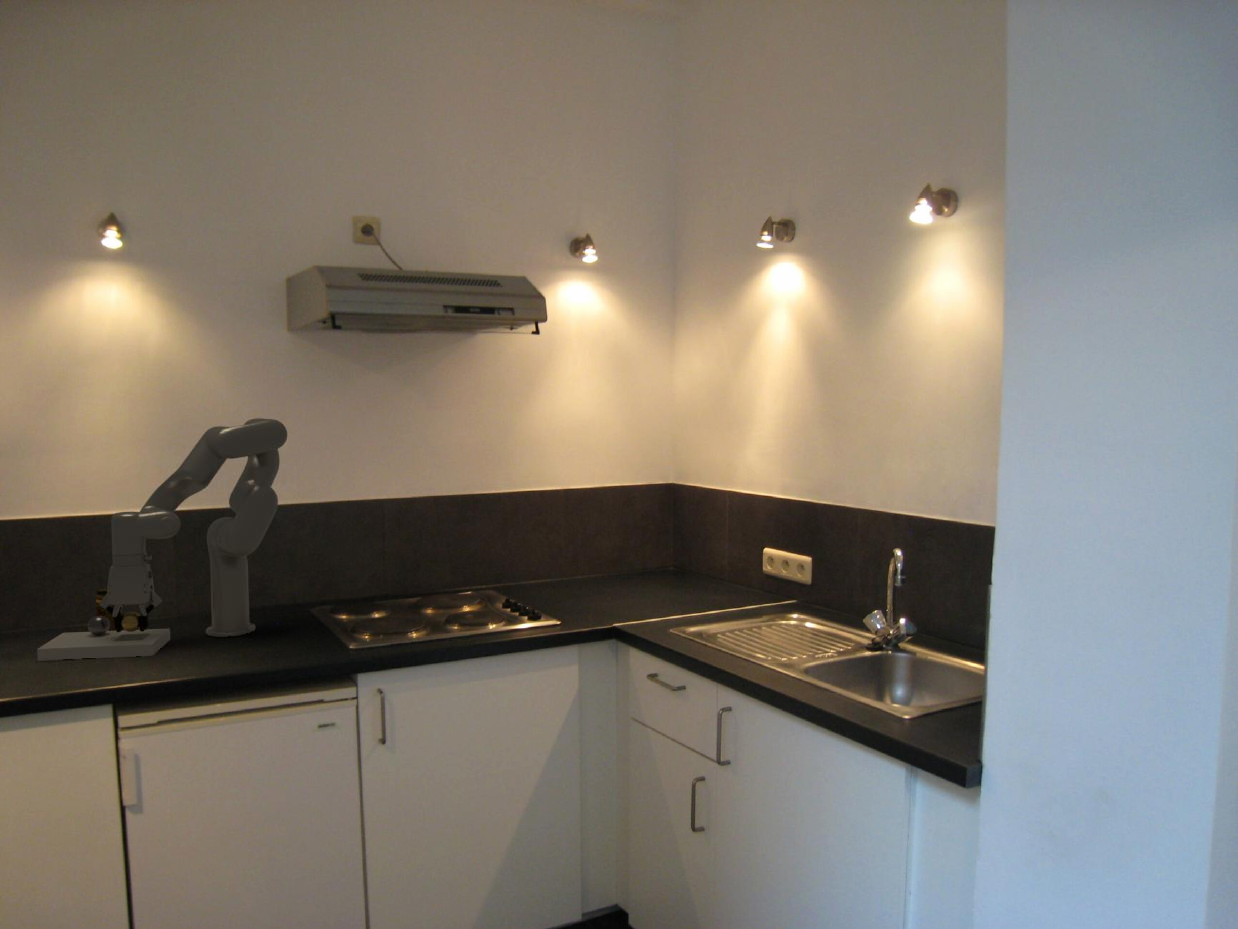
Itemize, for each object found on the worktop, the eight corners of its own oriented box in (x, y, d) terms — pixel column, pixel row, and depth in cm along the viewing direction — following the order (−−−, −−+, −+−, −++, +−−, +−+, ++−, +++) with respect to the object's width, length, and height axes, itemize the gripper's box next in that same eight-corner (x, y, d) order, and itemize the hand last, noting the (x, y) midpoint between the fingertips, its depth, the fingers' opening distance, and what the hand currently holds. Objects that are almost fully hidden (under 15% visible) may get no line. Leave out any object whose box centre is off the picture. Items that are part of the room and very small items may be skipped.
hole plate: (63, 644, 244) (63, 632, 244) (170, 639, 249) (169, 628, 249) (37, 661, 229) (37, 649, 228) (152, 656, 234) (151, 644, 233)
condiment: (89, 634, 255) (87, 590, 254) (114, 627, 263) (113, 584, 262) (110, 636, 253) (108, 592, 252) (135, 629, 261) (133, 586, 260)
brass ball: (124, 629, 242) (123, 610, 241) (145, 628, 243) (144, 609, 242) (117, 634, 237) (117, 614, 237) (139, 633, 238) (138, 614, 237)
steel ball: (92, 633, 244) (91, 614, 244) (113, 632, 245) (112, 613, 245) (85, 637, 239) (84, 618, 239) (106, 637, 240) (105, 617, 240)
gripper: (169, 556, 244) (171, 625, 245) (98, 558, 241) (100, 628, 242) (161, 561, 236) (163, 633, 238) (87, 563, 233) (90, 635, 235)
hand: (131, 630), depth 240 cm, fingers closed on brass ball, 4 cm apart
